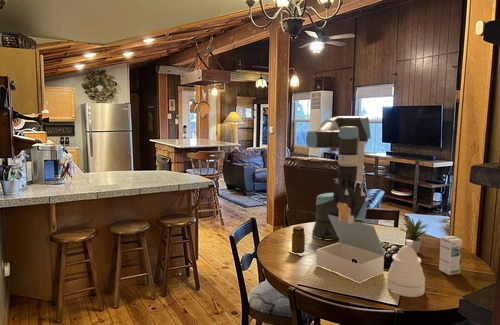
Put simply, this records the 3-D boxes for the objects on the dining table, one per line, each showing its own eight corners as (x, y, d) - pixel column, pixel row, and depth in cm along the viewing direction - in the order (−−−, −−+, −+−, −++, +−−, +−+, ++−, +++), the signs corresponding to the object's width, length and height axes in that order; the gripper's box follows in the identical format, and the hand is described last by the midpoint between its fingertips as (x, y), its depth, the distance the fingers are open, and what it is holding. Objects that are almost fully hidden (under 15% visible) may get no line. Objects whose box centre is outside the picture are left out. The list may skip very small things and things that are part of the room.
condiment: (298, 249, 181) (298, 225, 179) (311, 253, 174) (311, 229, 173) (287, 252, 176) (287, 227, 175) (300, 257, 170) (301, 231, 168)
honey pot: (393, 278, 147) (395, 234, 145) (428, 287, 139) (431, 241, 137) (382, 289, 137) (383, 242, 135) (418, 300, 129) (421, 250, 127)
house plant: (425, 260, 166) (427, 224, 164) (393, 253, 174) (395, 219, 172) (432, 251, 177) (434, 217, 175) (402, 245, 186) (403, 213, 184)
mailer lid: (319, 201, 157) (321, 198, 158) (339, 243, 168) (341, 240, 169) (364, 211, 139) (367, 208, 140) (383, 257, 150) (385, 254, 151)
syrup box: (449, 275, 150) (451, 240, 148) (438, 269, 155) (440, 236, 154) (460, 273, 151) (463, 239, 149) (449, 268, 157) (451, 235, 155)
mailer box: (316, 266, 159) (316, 249, 158) (340, 257, 169) (340, 241, 168) (359, 283, 142) (360, 265, 141) (383, 273, 152) (384, 255, 151)
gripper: (324, 163, 153) (323, 219, 156) (360, 167, 140) (358, 228, 142) (336, 162, 158) (335, 216, 160) (371, 166, 144) (369, 224, 147)
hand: (346, 221), depth 151 cm, fingers closed on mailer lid, 4 cm apart
